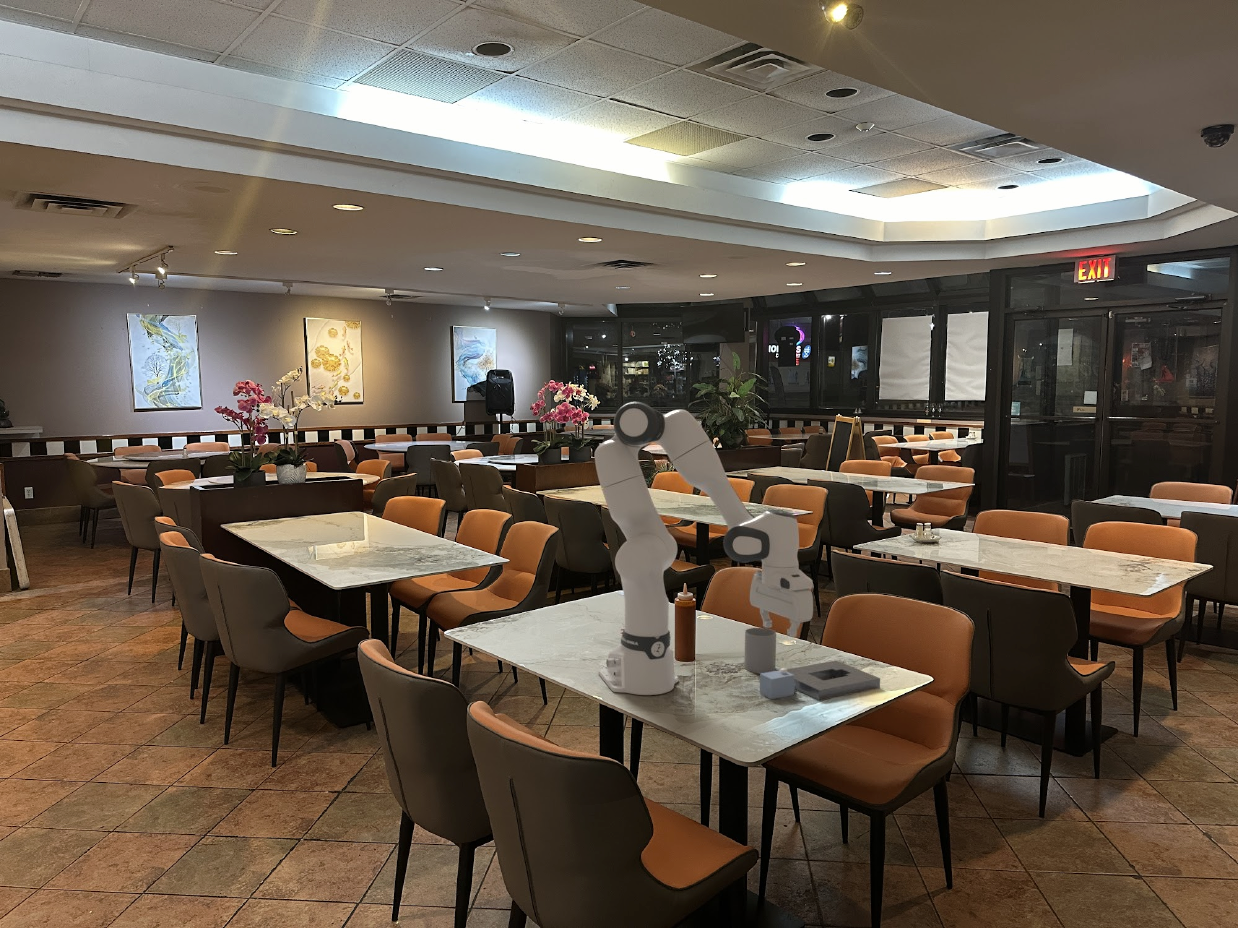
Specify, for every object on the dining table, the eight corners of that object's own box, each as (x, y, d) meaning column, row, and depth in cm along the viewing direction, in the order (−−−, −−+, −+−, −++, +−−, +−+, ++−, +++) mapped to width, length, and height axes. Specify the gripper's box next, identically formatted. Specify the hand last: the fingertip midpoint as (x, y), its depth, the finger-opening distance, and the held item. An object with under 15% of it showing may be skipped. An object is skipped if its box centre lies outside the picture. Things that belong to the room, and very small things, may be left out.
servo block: (759, 693, 201) (760, 669, 200) (786, 688, 205) (787, 664, 204) (771, 699, 197) (771, 675, 196) (798, 693, 201) (799, 670, 200)
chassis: (777, 680, 210) (777, 670, 210) (835, 669, 220) (836, 660, 220) (818, 700, 196) (819, 690, 196) (879, 687, 206) (880, 678, 205)
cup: (741, 670, 218) (742, 634, 217) (747, 661, 226) (748, 626, 225) (772, 674, 215) (773, 637, 214) (777, 665, 223) (778, 629, 222)
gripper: (744, 569, 206) (743, 623, 207) (796, 585, 188) (796, 643, 189) (764, 567, 209) (763, 620, 210) (817, 582, 191) (817, 640, 192)
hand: (779, 631), depth 199 cm, fingers open, 8 cm apart
